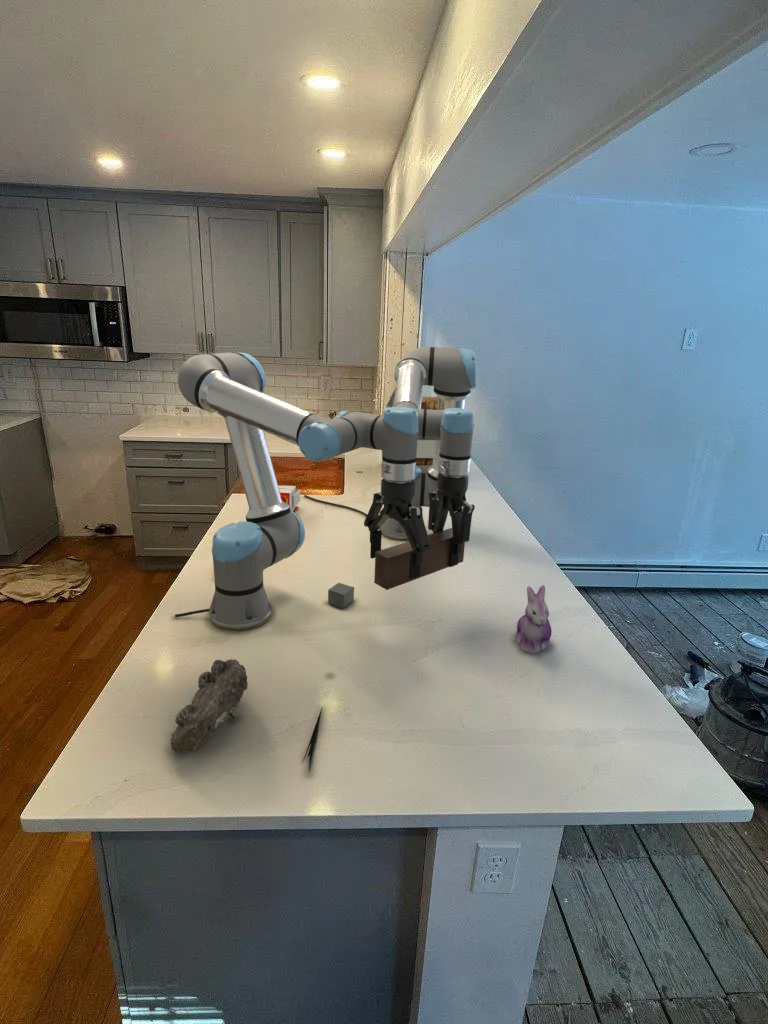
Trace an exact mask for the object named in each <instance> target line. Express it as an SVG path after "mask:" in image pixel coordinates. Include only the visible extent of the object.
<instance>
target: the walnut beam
mask: <svg viewBox="0 0 768 1024" xmlns="http://www.w3.org/2000/svg"><path fill="white" fill-rule="evenodd" d="M427 535H428V539H429V542H430V546H431V550H429V551H426V552H423V560H422V565H420V576H418V577H416V578H413V579H410V578H409V565H410V551H413V549H412V547H411V544H410V542H409V540H407V541H405V542H401V543H399V544H395V545H392V546H389V547H386V548H383V549H381V550H379V551H376V552H375V558H374V578H373V579H374V581H373V583H374V584H376V585H377V586H378V587H380V588H383V589H384V590H386V591H388V590H390V589H394V588H396V587H400V586H401V585H404V584H407V583H409V582H412V581H415V580H418V579H420V578H423V577H426V576H429V575H431V574H434V573H436V572H439V571H442V570H445V569H447V568H450V567H449V555H450V543H451V542H452V541H453V532H452V527H449V528H446V529H443V531H440V532H437V533H434V534H433V533H431V534H427ZM465 544H466V542H465V543H462V548H461V554H460V555H459V559H458V564H460V563H463V562H464V555H465ZM417 547H418V545H417Z"/></svg>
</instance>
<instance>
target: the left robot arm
mask: <svg viewBox="0 0 768 1024" xmlns="http://www.w3.org/2000/svg"><path fill="white" fill-rule="evenodd" d="M266 385H267V378H266V373H265V371H264V368H263V366H262V365H261V363H260V362H259V361H258V359H256V358H255V357H254V356H252V355H251V354H250V353H246V352H237V351H230V352H215V353H203V354H202V353H201V354H196V355H193V356H191V357H189V358H188V359H186V360H185V361H184V362H183V363H182V364H181V366H180V368H179V370H178V374H177V386H178V389H179V391H180V393H181V395H182V396H183V398H184V399H185V400H186V401H187V402H188V403H190V404H191V405H193V406H194V407H197V408H198V409H201V410H204V411H205V412H208V413H217V414H218V415H220V416H221V417H223V418H224V421H225V425H226V428H227V432H228V436H229V439H230V444H231V447H232V450H233V454H234V458H235V461H236V465H237V468H238V473H239V476H240V479H241V483H242V487H243V491H244V494H245V497H246V501H247V505H248V511H247V513H246V514H245V521H238V522H232V523H228V524H226V525H224V526H222V527H219V528H218V530H216V531H215V533H213V534H214V535H213V536H212V547H211V554H212V565H213V577H214V578H213V579H214V593H213V596H212V600H211V603H210V607H208V608H204V609H198V610H193V611H186V612H182V613H176V614H174V618H181V617H186V616H191V615H196V614H202V613H203V614H204V613H207V612H208V619H209V621H210V623H211V625H212V626H214V627H215V628H217V629H220V630H223V631H226V632H227V631H229V632H243V631H245V632H246V631H249V630H253V629H256V628H259V627H261V626H263V625H264V624H266V623H267V622H268V621H269V620H270V619H271V617H272V615H273V614H272V599H271V601H270V599H269V596H268V594H267V592H266V589H265V586H264V570H266V569H268V568H270V567H272V566H274V565H276V564H277V563H279V562H281V561H283V560H285V559H288V558H290V557H291V556H293V555H294V554H295V553H296V552H298V551H299V550H300V549H301V548H302V547H303V545H304V542H305V538H306V529H305V526H304V525H305V524H304V522H303V520H302V519H301V517H298V514H297V513H296V512H295V513H294V512H292V511H291V510H290V506H289V505H288V504H286V503H285V502H283V501H282V499H281V495H280V491H279V488H278V485H279V484H278V481H277V477H276V476H277V475H276V472H275V469H274V465H273V462H272V458H271V455H270V449H269V446H268V442H267V439H266V435H265V433H267V434H270V435H272V436H274V437H277V438H278V439H281V440H283V441H286V442H288V443H291V444H293V445H294V446H297V447H298V448H299V450H300V452H301V453H302V454H303V456H304V457H305V458H306V459H308V460H309V461H312V462H321V461H328V460H331V459H333V458H336V457H338V456H340V455H343V454H346V453H350V452H352V451H355V450H358V449H360V448H361V449H362V448H365V449H371V450H377V451H381V477H382V478H381V480H380V491H379V492H375V493H373V497H372V503H371V505H370V507H369V510H368V512H367V513H366V514H367V517H366V516H365V520H364V521H363V526H364V527H367V529H368V531H369V543H370V551H369V552H370V553H369V557H370V559H372V560H373V559H375V552H376V551H379V550H382V537H383V535H382V531H381V530H379V529H381V526H382V525H383V524H384V523H385V521H386V520H387V519H388V518H393V519H394V520H396V521H399V524H400V525H401V526H403V529H404V531H405V533H406V535H407V538H408V540H407V541H409V542H410V544H411V547H412V549H413V551H410V565H409V578H410V579H413V578H416V577H418V576H420V565H422V560H423V552H426V551H429V550H431V546H430V542H429V539H428V535H429V534H428V532H427V528H426V525H425V521H424V517H423V516H424V515H423V506H418V507H414V506H412V503H411V500H412V498H413V497H414V494H415V481H414V480H413V479H415V478H416V467H417V466H416V453H417V440H418V432H419V429H418V413H417V411H416V410H414V409H411V408H406V407H389V408H386V407H385V408H386V409H385V410H384V409H383V410H384V414H383V413H382V415H381V414H373V413H368V412H361V411H357V410H341V411H339V412H338V413H337V414H336V415H335V416H334V418H331V419H329V418H326V417H323V416H321V415H318V414H317V413H313V412H311V411H309V410H306V409H304V408H301V407H298V406H296V405H294V404H291V403H289V402H286V401H284V400H283V399H279V398H276V397H274V396H272V395H269V394H267V393H265V392H264V391H265V387H266ZM407 517H408V519H406V518H407ZM405 519H406V520H405ZM417 545H418V547H417Z"/></svg>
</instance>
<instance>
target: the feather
mask: <svg viewBox="0 0 768 1024" xmlns="http://www.w3.org/2000/svg"><path fill="white" fill-rule="evenodd" d="M329 675H330V676H331V675H332V674H331V673H330V674H329ZM322 710H323V707H321V708H320V710H319V713H318V716H317V719H316V723H315V725H314V728H313V731H312V733H311V737H310V739H309V742H308V745H307V748H306V751H305V754H304V757H303V760H302V763H301V767H302V765H303V763H304V761H305V758H308V759H309V760H308V762H307V763H308V764H307V766H308V771H310V770H311V766H312V765H311V764H312V760H313V757H315V756H314V755H315V751H316V749H315V746H317V739H318V733H319V729H320V722H321V717H322V712H323V711H322ZM313 754H314V755H313ZM306 755H307V757H306Z"/></svg>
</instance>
